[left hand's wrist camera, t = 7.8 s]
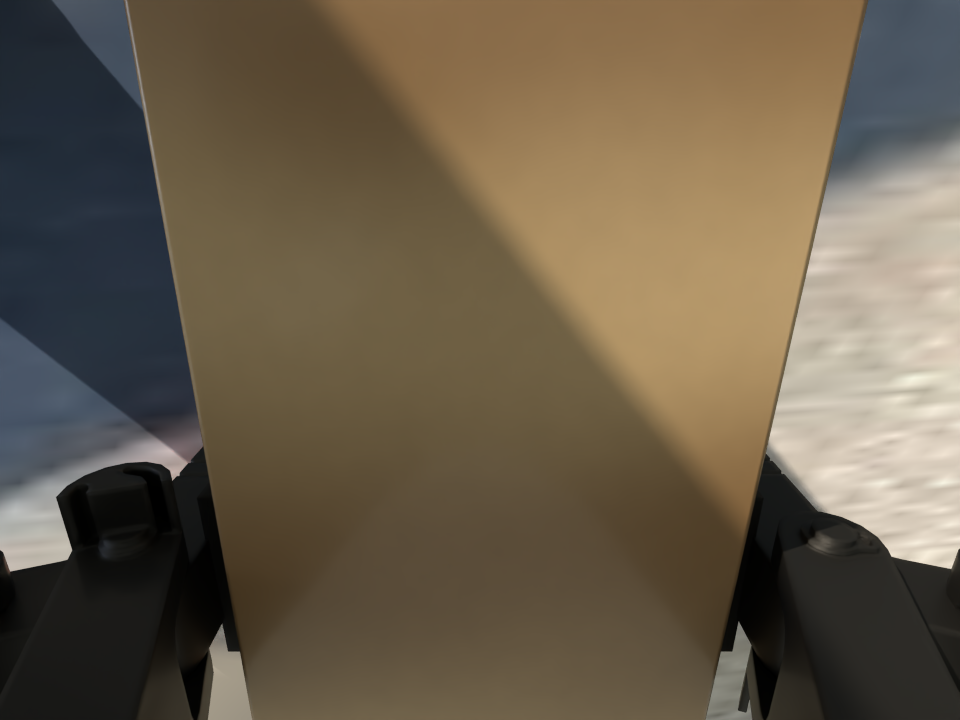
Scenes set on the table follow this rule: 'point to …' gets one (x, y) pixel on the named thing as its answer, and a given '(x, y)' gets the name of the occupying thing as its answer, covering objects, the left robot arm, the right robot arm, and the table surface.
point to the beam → (488, 330)
